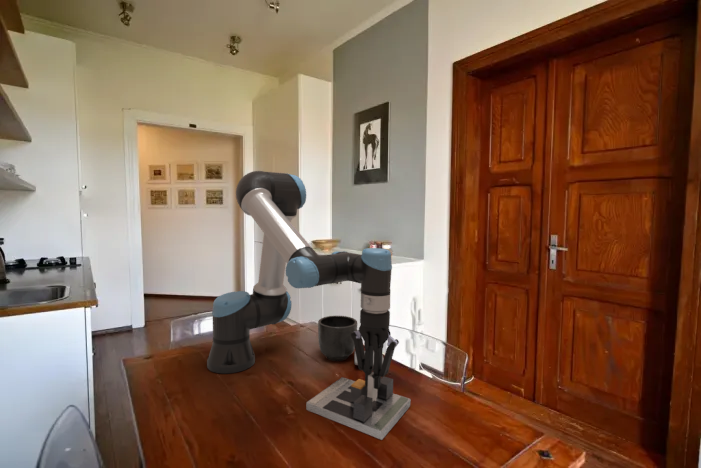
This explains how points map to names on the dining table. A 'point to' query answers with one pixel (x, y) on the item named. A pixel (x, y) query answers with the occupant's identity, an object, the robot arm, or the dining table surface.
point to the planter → (336, 337)
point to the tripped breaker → (358, 389)
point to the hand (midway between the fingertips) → (372, 398)
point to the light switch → (373, 358)
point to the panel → (354, 423)
